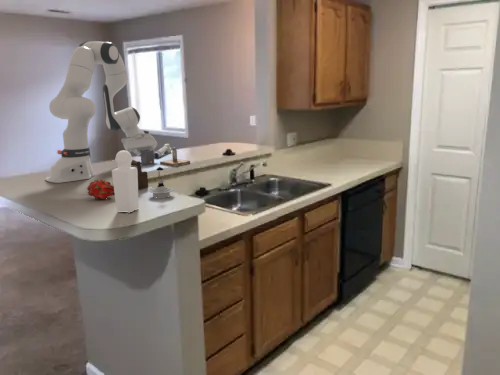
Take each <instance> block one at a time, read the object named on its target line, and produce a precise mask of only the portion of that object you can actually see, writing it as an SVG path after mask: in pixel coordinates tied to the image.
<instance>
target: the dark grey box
mask: <svg viewBox="0 0 500 375" xmlns="http://www.w3.org/2000/svg"><path fill="white" fill-rule="evenodd" d="M154 151H155V149H154V150H150V149H146V150H140V151H139V152H140V153H141V156H140V162H141V166H142V165H143V166H150V165H155V158H154Z"/></svg>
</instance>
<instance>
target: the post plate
mask: <svg viewBox="0 0 500 375" xmlns="http://www.w3.org/2000/svg"><path fill="white" fill-rule="evenodd" d="M171 154H172V155H171V156H172V158H171V159H169V160H161V161H159V165H162V166H168V167H173V168H174V167H178V166H185V165H189V164H191V161H190V160H186V159H179V158H178V150H177V147H175V146H172V149H171Z"/></svg>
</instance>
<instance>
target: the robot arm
mask: <svg viewBox="0 0 500 375" xmlns="http://www.w3.org/2000/svg"><path fill="white" fill-rule="evenodd" d="M95 64H96V65H102V67H103V70H104V74H105V82H104V84H103V86H102V96H103V104H104V111H105V124H106V127H107V128H108V130H110V131H113V132H118V131H121V130H122V131H123V133H124V134H125V137H122V138H121V139H120V142H121V143H122V145H123V148H124V149H125V151H128V152H129V153H133V154H135V155H136V156H137V157H141V153H140V150H146V149H149V150H154V154H155V149H156V148H157V146H158V142H157V140H156V139H155V137H154V136H153V135H151V134H152V133H151V132H150V131H149V130H144V129H141V128H139V126H138V124H140V121H141V116H140V114H139V111H138V110H137V109H136V108H134V107H132V106H130V107H129V106H128V107H126V108H124V109H121V110H118V111H115V108H114V107H115V106H114V101H113V100H114V97H115V95H116V94H117V93H118V92H120V91H121V89H123V88H124V87H125V86H126V84H127V83H128V80H129V79H128V73H127V72H128V71H127V68H126V66H125V62H124V60H123V58H122V56H121V54H120V50H119V48H118V47H117V45H116V44H114V42H111V41H110V42H109V41H99V40H94V41H93V40H92V41H84V42H81V43H80V44H79V45H78V46H77V47H76V48H74V50H73V52H72V55H71V57H70V60H69V65H68V67H67V73H66V76H65V80H64V83H63V85H62V87H61V88H60V90H59V92H58V93H57V95H56V96H55V97H54V98H53V99H52V100H50V102H49V111H50V113H51V114H52V116H54V117H56V118H58V119H61V120H67V124H66V125H67V126H66V128H65V129H64V130H63V133H62V139H63V149H62V150H60V149H58V150H56V154H58V155H60V156H61V157H60V158H59V159H58V160H57V161H55V162H54V164H52V165H51V167H50V171H49V176H46V177H45V181H46V182H49V183H53V184H54V183H56V184H60V183H61V184H62V183H68V182H73V181H75V182H77V181H82V180H89V179H92V178H93V177H95V173H94V169H93V167H92V164H91V163H92V162H91V150H90V149H91V148H90V147H89V138H88V132H89V130H88V129H89V125H90V122H91V120H92V118H93V117H94V116H95V114H96V110H97V109H96V105H95V102H94V101H93V100H92V99H90V98H88V97H86V96H85V97H84V96H83V95H84V94H85V93H86V92H87V91H88V90H89V89H90V87H91V82H92V78H93V75H94V68H95V67H94V66H95Z"/></svg>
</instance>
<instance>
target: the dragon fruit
mask: <svg viewBox="0 0 500 375" xmlns="http://www.w3.org/2000/svg"><path fill="white" fill-rule="evenodd" d="M87 195H88V196H90V197H94V198H95V200H98V199H101V200H105V199H106V198H108V200H111V199H112V197H114V196H115V193H114V185H112V184H111V182H110V181H106V180H103V179H100V180H98V179H94V180H93V181H91V182H90V183H89V185H88V187H87Z"/></svg>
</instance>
